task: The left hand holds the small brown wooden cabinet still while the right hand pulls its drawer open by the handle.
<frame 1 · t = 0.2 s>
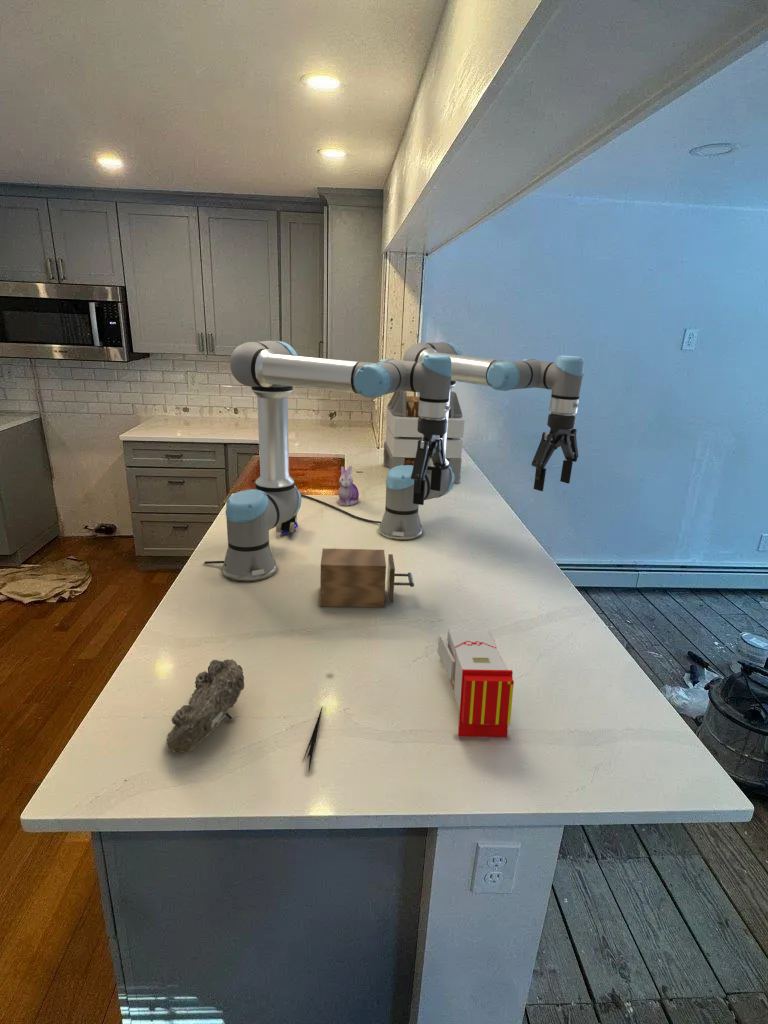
left hand: (427, 496, 151), 28 cm above the counter, tool pointing down, fingers open, 13 cm apart
right hand: (551, 486, 165), 28 cm above the counter, tool pointing down, fingers open, 13 cm apart
figurine character: (288, 531, 198), on the counter
feather: (319, 719, 109), on the counter
figurine: (348, 502, 229), on the counter
cabinet: (352, 597, 155), on the counter
grey box: (419, 473, 275), on the counter
drawer: (374, 577, 153), point 6 cm above the counter, slide at 1.2 cm
fossil: (212, 717, 108), on the counter
toy: (469, 691, 119), on the counter
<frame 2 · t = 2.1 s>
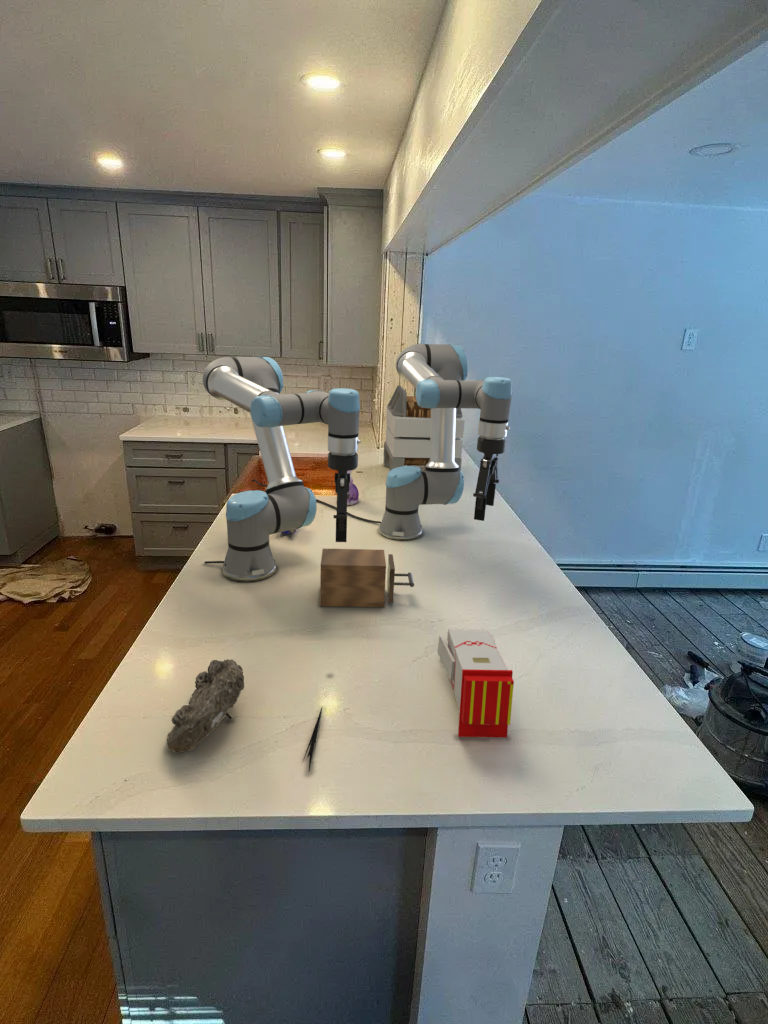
left hand: (341, 531, 148), 19 cm above the counter, tool pointing down, fingers open, 13 cm apart
right hand: (483, 512, 158), 22 cm above the counter, tool pointing down, fingers open, 13 cm apart
nothing on the counter moved.
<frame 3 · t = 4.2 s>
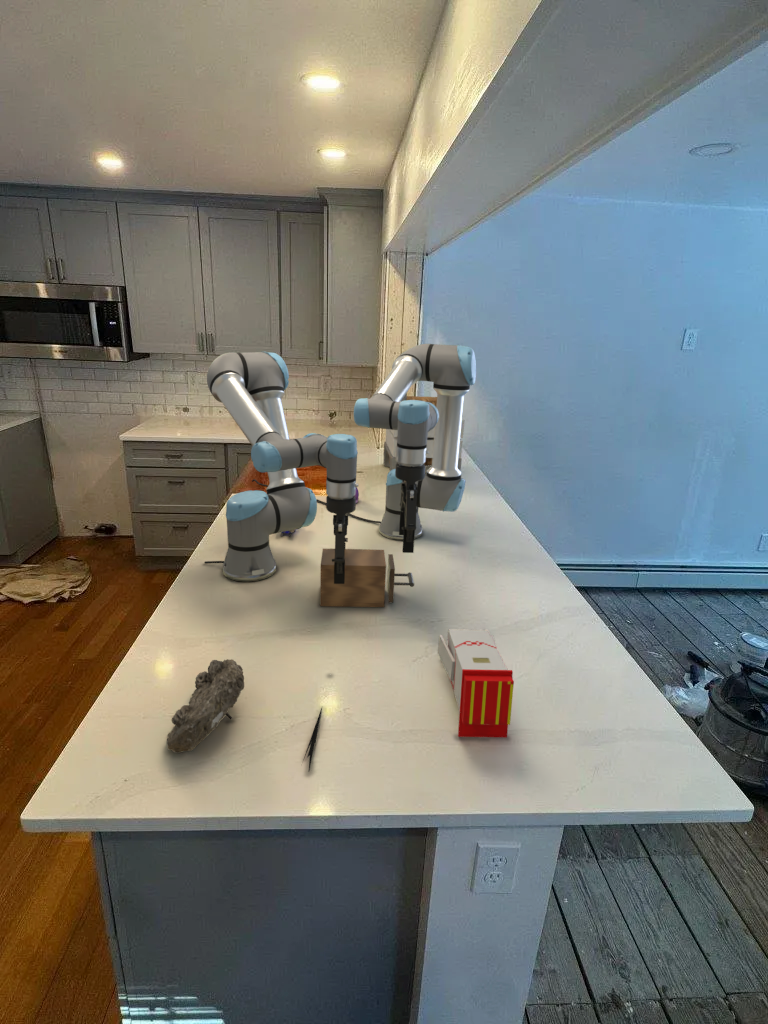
left hand: (339, 573, 152), 7 cm above the counter, tool pointing down, fingers closed on cabinet, 10 cm apart
right hand: (405, 543, 150), 16 cm above the counter, tool pointing down, fingers open, 11 cm apart
cabinet: (352, 597, 155), on the counter, touching left hand
everything else where it was.
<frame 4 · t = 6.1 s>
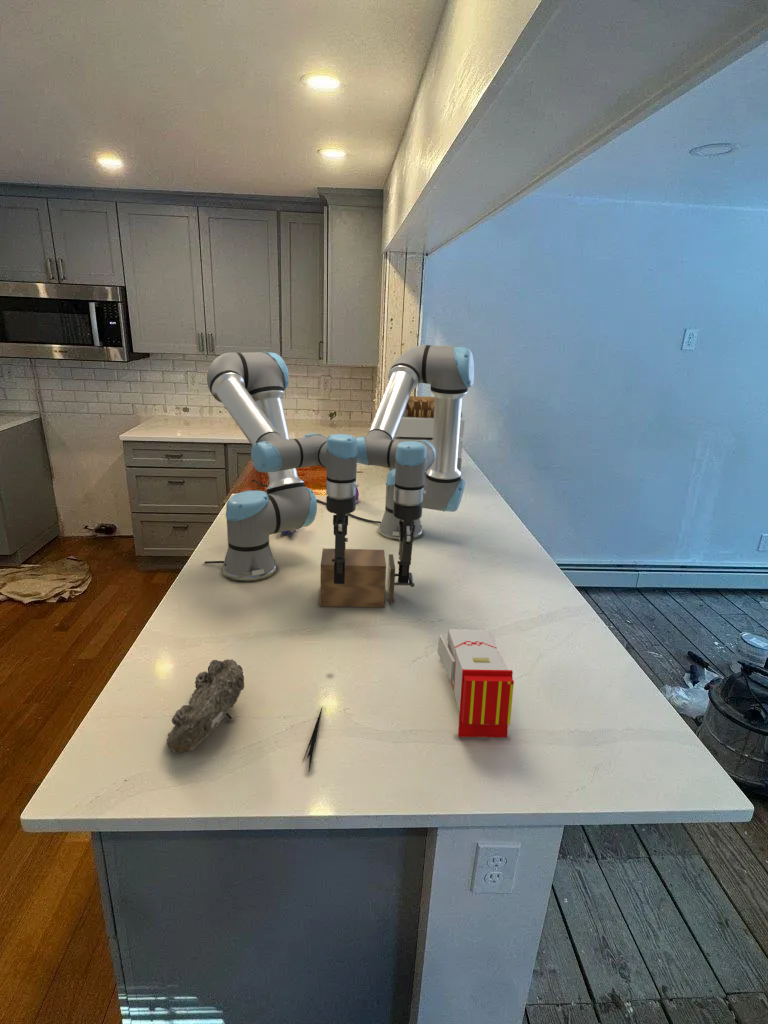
left hand: (339, 573, 152), 7 cm above the counter, tool pointing down, fingers closed on cabinet, 10 cm apart
right hand: (403, 584, 154), 4 cm above the counter, tool pointing down, fingers closed
cabinet: (352, 597, 155), on the counter, touching left hand
drawer: (374, 577, 153), point 6 cm above the counter, slide at 1.3 cm, touching right hand
everything else where it was.
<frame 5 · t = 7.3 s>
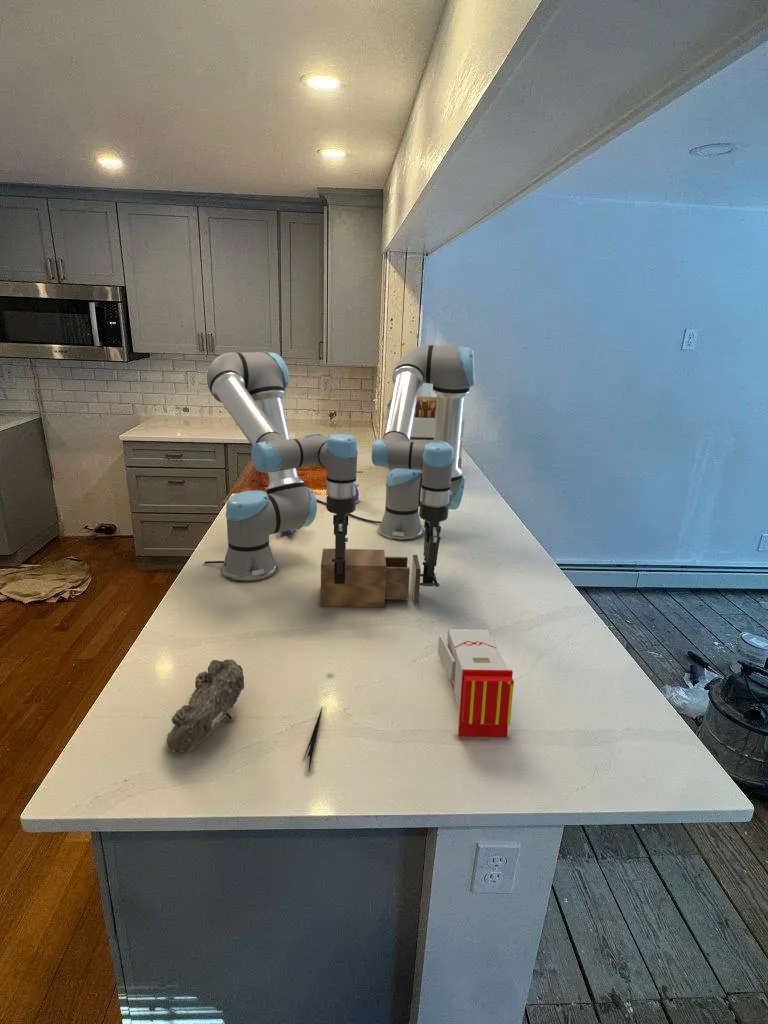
left hand: (340, 573, 152), 7 cm above the counter, tool pointing down, fingers closed on cabinet, 10 cm apart
right hand: (427, 584, 155), 4 cm above the counter, tool pointing down, fingers closed
cabinet: (352, 597, 155), on the counter, touching left hand
drawer: (399, 578, 154), point 6 cm above the counter, slide at 7.9 cm, touching right hand
everything else where it was.
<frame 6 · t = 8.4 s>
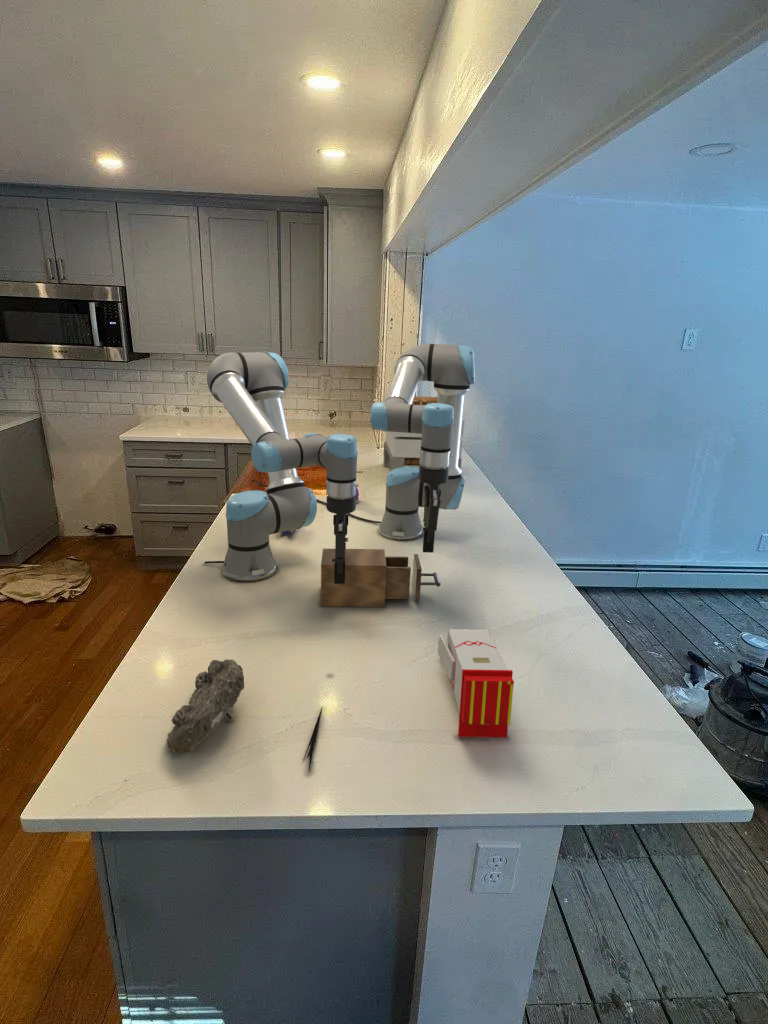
left hand: (340, 573, 152), 7 cm above the counter, tool pointing down, fingers closed on cabinet, 10 cm apart
right hand: (427, 551, 151), 14 cm above the counter, tool pointing down, fingers closed
cabinet: (352, 597, 155), on the counter, touching left hand
drawer: (400, 577, 154), point 6 cm above the counter, slide at 8.1 cm
everything else where it was.
when the left hand's fingers open (7 cm above the counter, at t = 9.1 s): cabinet stays where it is, on the counter.
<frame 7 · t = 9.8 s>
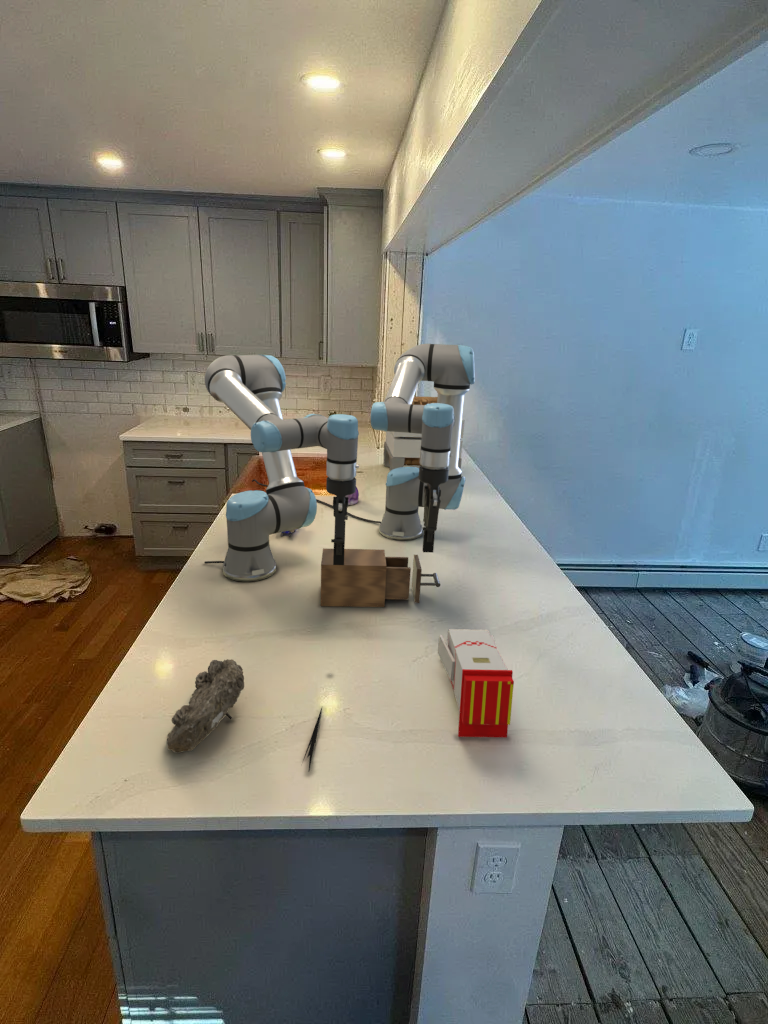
left hand: (339, 553, 151), 13 cm above the counter, tool pointing down, fingers open, 13 cm apart
right hand: (427, 551, 151), 14 cm above the counter, tool pointing down, fingers closed
cabinet: (352, 597, 155), on the counter
everything else where it was.
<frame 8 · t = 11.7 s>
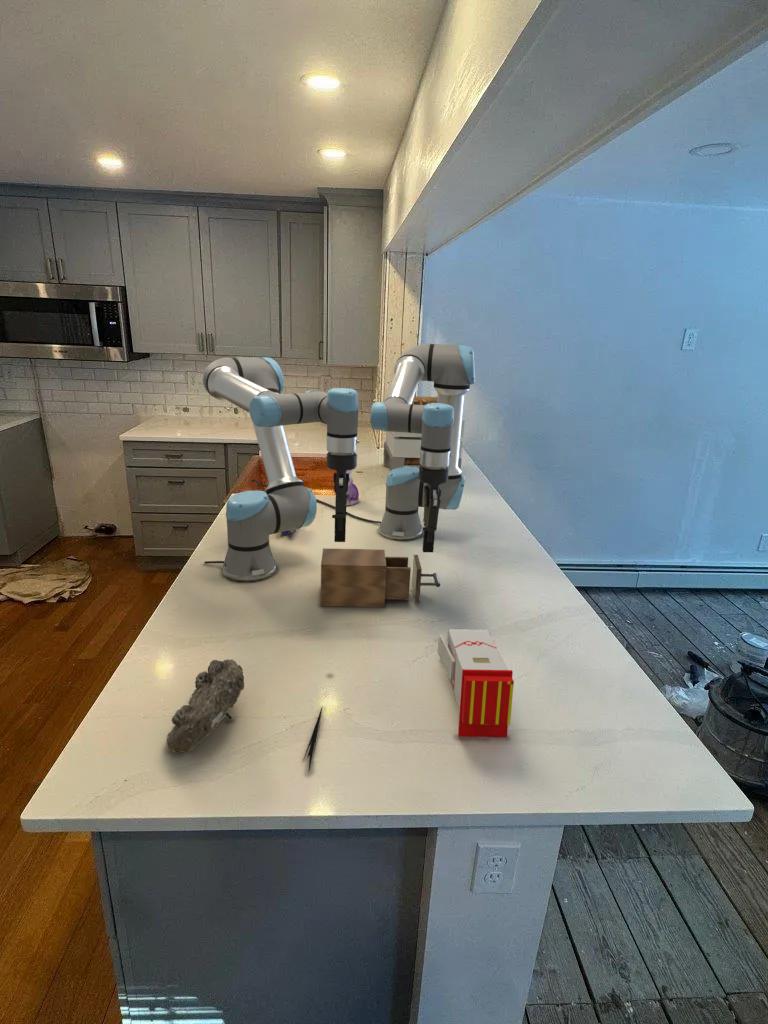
left hand: (340, 531, 148), 19 cm above the counter, tool pointing down, fingers open, 13 cm apart
right hand: (427, 551, 151), 14 cm above the counter, tool pointing down, fingers closed
nothing on the counter moved.
at the end: drawer slide at 8.1 cm; cabinet tilted 0°; cabinet never tilted more than 1° during the clip; cabinet moved 0.1 cm from its start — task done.
